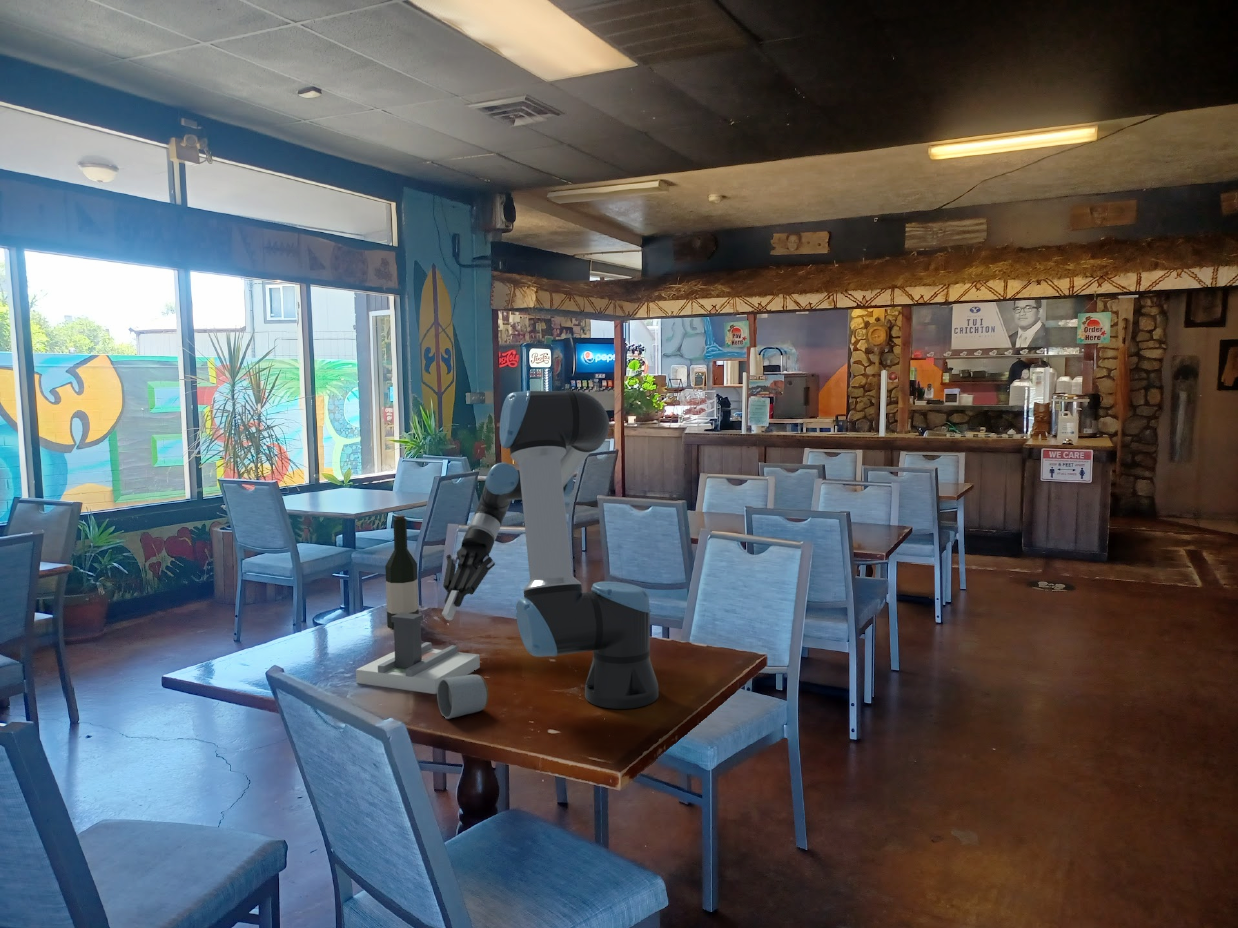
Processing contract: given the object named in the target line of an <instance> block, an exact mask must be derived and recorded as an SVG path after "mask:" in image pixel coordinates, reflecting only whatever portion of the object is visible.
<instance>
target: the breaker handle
mask: <svg viewBox="0 0 1238 928" xmlns="http://www.w3.org/2000/svg"><path fill="white" fill-rule="evenodd" d="M421 621H424V615H423V614H420V613H419V614H411V613H399V614H396V615H394V616H391V622H394V629H393V635H394V636H393V639H394V642H393V643H394V645H393V646H394V651H395V667H399V668H409V667H411V666H413V665H415V664H417V663H419V662H420V661H422V650H421V644H422V624H421V623H422V622H421Z"/></svg>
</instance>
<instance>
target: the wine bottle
mask: <svg viewBox="0 0 1238 928" xmlns="http://www.w3.org/2000/svg"><path fill="white" fill-rule="evenodd" d="M392 521H393V544H394V545H393V546H394V547H393V549H394V550H393V551H392V552H391V555H390V557H389V559H388V560H387V562H386V564H385V594H386V596H385V597H386V622H387V623H386V624H387V625H386V626H388V628H389V627H390V629H391V628H392V630H394V622H391V616H394V615H396V614H399V613H411V614H420V613H419V609H420V608H419V579H418V578H419V577H418V563H417V561H416V559H415V558H414V557H413V555H412V553H411V552H410V551H409V549H408V527H407V526H408V524H407V521H408V520H407V518H406V517H405V514H402V515H401V514H399V515H394V518H393V520H392Z"/></svg>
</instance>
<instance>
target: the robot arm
mask: <svg viewBox="0 0 1238 928" xmlns="http://www.w3.org/2000/svg"><path fill="white" fill-rule="evenodd" d="M609 431H610V418H609V416H608V413H607V411H606V409H605V407H604V406H603V405H602V403H601V402H600V401H599V400H598V399H596V398H595V397H594V396H592V395H590V394H588V393H586V392H583V391H581V390H580V391H578V390H569V391H567V390H566V391H565V390H526V391H525V390H524V391H514V392H511V393H509V394H507V396H506V397H505V399H504V402H503V404H502V407H501V413H500V419H499V441H500V445H501V446H500V447H502V448H503V449H505V450H508V449H509V453H510V454H509V455H510V458H511V460H513V461H514V462H515V463H516V464H517V466H518V469H517V468H516V467H515V466H514V465H513V464H509V463H508V462H497V463H496V464H494V465H493V466H492V467H491V468H490V470H489V471H488V473H487V475H486V478H485V482H484V486H483V489H482V492H481V495H480V499H479V501H478V504H477V507H476V508H475V512H474V513H473V516H472V518H471V519H470V523H469V524H468V526H467V530H466V531H465V534H464V536H463V537H462V538H463V539H462V541H461V546H460V548H459V549H458V550H457V552H456V553H454V554H453V555H451V554H447V555H446V562H447V563H446V568H445V569H446V570H445V575H444V578H443V588H444V590H445V591H446V592H447V595H446V596H445V599H444V608H443V610H442V612H441V616H443V618H444V619H445V620H446V621H453V619H454V615H455V613H456V611H457V609H458V608H460V607H461V606H462V603H463V601H464V598H465V597H466V596H467V595H474V593H475V592H476V590H477V588H479V586H480V584H481V583H482V581H483V580H484V579H485V577H486V576H487V574H488V572H489V571H490V570H491V569H493V567H495V566H496V565H495V564H496V562H495V561H494V559H492V557H491V556H490V554H491V552H492V549H493V547H494V544H495V541H496V539H497V537H498V534H499V532H500V530H501V528H502V527H501V526H502V523H503V521H504V519H505V517H506V515H507V513H508V510H509V507H510V506H511V503H512V501H514V500H522V502H521V503H522V511H523V519H524V522H523V523H524V531H525V541H526V553H527V561H528V562H527V564H528V572H529V582H528V583H527V584H526V586H525V587H524V588H523V597H521V598H520V599H518V600H517V602H516V605H515V610H516V613H515V615H516V616H515V617H516V623H517V627H518V628H517V629H518V631H519V636H520V640H521V642H522V644H523V646H524V648H525V649H526V651H527V652H528V653H529V654H530V655H532V656H533V657H537V658H540V657H557V656H562V655H568V654H569V655H570V654H578V653H585V652H592V662H591V664H590V668H589V671H588V676H587V678H586V681H585V683H584V684H585V685H584V698H585V699H586V701H587V702H589V703H590V704H592V705H594V706H596V707H601V708H606V709H613V710H614V709H615V710H625V709H626V710H628V709H636V708H641V707H645V706H648V705H650V704H653V703H654V702H655V701H657V700H658V698H659V683H658V680H657V677H656V674H655V671H654V668H653V665H652V662H651V655H650V653H651V652H650V648H651V645H650V643H651V641H650V640H651V639H650V634H651V633H650V631H651V630H650V627H651V626H650V625H651V624H650V623H651V621H650V618H651V616H650V614H651V609H650V597H649V593H648V592H647V590H646V589H645V588H643V587H641V586H638V585H636V584H631V583H626V582H619V581H598V582H594V583H593V584H592V586H591V591H588V592H583V588H582V582H581V581H580V580H579V579H577V578H576V577H575V576H574V575H573V574H574V573H573V568H572V567H573V565H572V557H571V548H570V546H571V545H570V539H569V538H570V537H569V530H568V520H567V512H566V510H567V509H566V503H565V498H566V497H569V496H570V495H572V494H573V489H574V475H575V473H576V472H577V470H578V469H579V467H580V466H582V464H583V462H584V461H585V460H586V458H587V457H588V456H589V455H590V454H591V453H593V452H595V451H597V450H598V449H600V448H601V446H602V445H603V444H604V443H605V441H606V439H607V438H608V435H609ZM456 565H457V567H456Z"/></svg>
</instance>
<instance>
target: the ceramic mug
mask: <svg viewBox="0 0 1238 928" xmlns="http://www.w3.org/2000/svg"><path fill="white" fill-rule="evenodd" d="M488 688H489V687H488V685H487V681H486V679H484V677H483V676H482V675H479V674H468V675H465V676H457V677H449V678H443V679H441V680H440V682H439V684H438V688H437V693H436V697H437V699H436V700H437V704H438V705H437V706H438V709H439V711H440V714H441V716H442V717H443V716H444V717H445V718H444V717H443V718H444V719H446V720H450V719H454V718H459V717H461V716H465V715H469V714H475V713H478V712H480V711H483V710H484V709H485V708H486V706H487V705H488V702H489V689H488Z"/></svg>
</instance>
